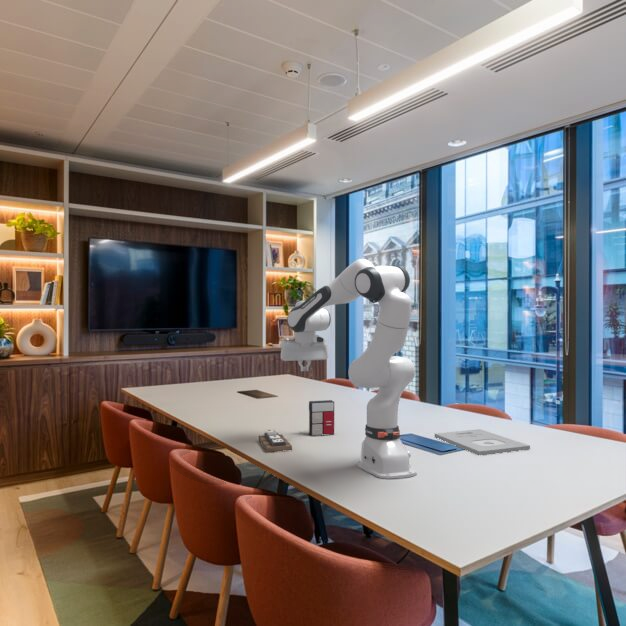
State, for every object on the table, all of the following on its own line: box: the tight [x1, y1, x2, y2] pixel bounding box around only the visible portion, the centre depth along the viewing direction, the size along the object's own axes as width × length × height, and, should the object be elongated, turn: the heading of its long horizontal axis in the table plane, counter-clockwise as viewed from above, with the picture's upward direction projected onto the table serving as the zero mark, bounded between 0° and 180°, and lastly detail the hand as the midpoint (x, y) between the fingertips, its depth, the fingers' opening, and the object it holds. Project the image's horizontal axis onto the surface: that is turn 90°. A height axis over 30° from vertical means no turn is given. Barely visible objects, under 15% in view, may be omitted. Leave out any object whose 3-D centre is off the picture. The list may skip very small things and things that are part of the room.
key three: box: [272, 439, 284, 443], centre depth 198 cm, size 4×4×2 cm
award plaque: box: [434, 428, 531, 456], centre depth 208 cm, size 25×30×2 cm
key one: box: [269, 434, 280, 439], centre depth 204 cm, size 4×4×2 cm
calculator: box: [308, 399, 335, 436], centre depth 222 cm, size 11×4×15 cm, turn 105°
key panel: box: [258, 432, 293, 453], centre depth 204 cm, size 19×10×3 cm, turn 16°
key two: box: [265, 429, 279, 435], centre depth 210 cm, size 4×4×2 cm
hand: (304, 371), depth 209 cm, fingers closed
